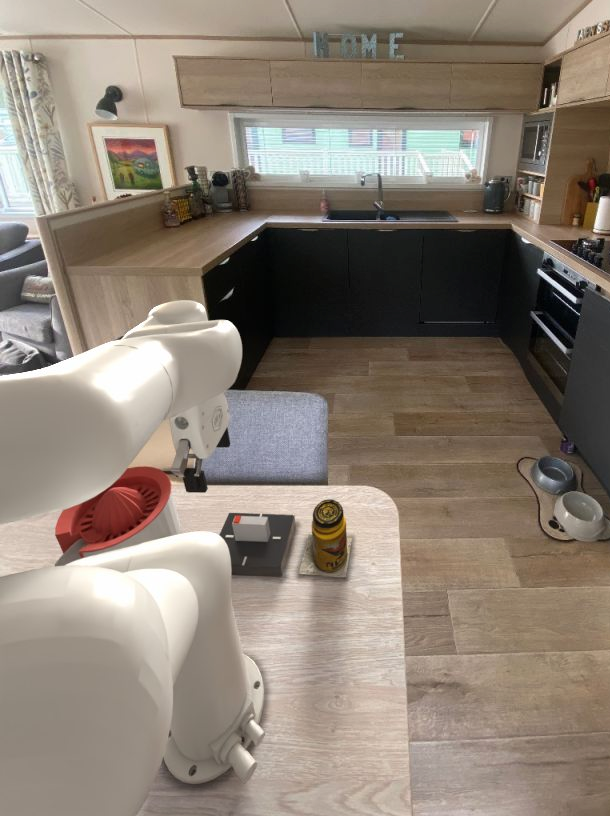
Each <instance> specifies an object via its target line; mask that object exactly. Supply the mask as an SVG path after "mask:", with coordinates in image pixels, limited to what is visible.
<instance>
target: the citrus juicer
mask: <svg viewBox="0 0 610 816" xmlns="http://www.w3.org/2000/svg"><path fill="white" fill-rule="evenodd" d="M181 529H182V527H181V521H180V517H179V514H178V511H177V507H176V503H175V500H174V497H173V492H172V482H171V478H170V477H169V476H168V475H167V473H166V472H164V471H163V470H161V469H159V468H156V467H155V466H154V467H153V466H146V465H145V466H134V467H133V466H132V467H128V468H127V470H126V471H125V472H124V473H123V474H122V475H121V477H120V478H119V479H118V480H117V481H116V482H114V483H113V484H112V485H111V486H110V487H108V488H107V489H106V490H104V491H103V492H101V493H100V494H98V495H97V496H95V497H94V498H91V499H89V500H87V501H85V502H83V503H81V504H78V505H76V506H73V507H71V508H68V509H65V510H62V511H61V513H60V515H59V516H58V519H57V521H56V524H55V528H54V531H55V532H54V533H55V534H54V537H55V538H56V540H57V542H58V545H59V547H60V549H61V551H62V555H61V556H60V557H59V558H58V559H57V561H56V562H55V563H54V566H64V565H66V564H69V563H71V562H73V561H76V560H79V559H82V558H85V557H89V556H93V555H97V554H101V553H105V552H109V551H113V550H117V549H122V548H126V547H130V546H134V545H138V544H141V543H144V542H148V541H152V540H156V539H161V538H165V537H169V536H173V535H178V534H182V533H181V531H182V530H181Z"/></svg>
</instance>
